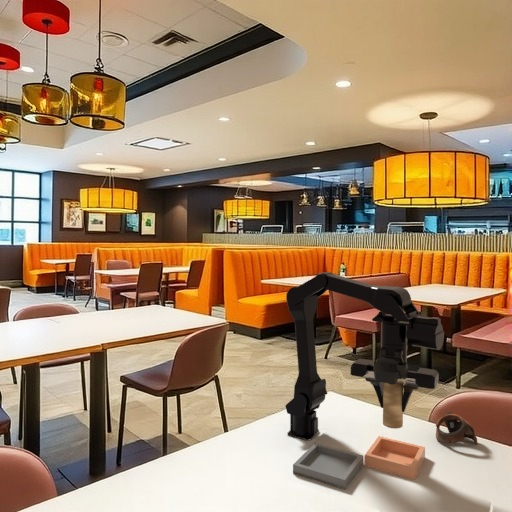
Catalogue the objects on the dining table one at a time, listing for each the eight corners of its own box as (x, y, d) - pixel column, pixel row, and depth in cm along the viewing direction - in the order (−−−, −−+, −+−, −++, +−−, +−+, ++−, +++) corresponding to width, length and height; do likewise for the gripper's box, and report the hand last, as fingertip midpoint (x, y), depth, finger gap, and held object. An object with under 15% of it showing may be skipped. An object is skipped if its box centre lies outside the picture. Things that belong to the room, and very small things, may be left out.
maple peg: (380, 425, 102) (381, 382, 101) (385, 418, 105) (386, 377, 105) (400, 430, 99) (400, 386, 99) (404, 422, 103) (405, 380, 103)
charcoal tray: (293, 475, 98) (293, 464, 98) (315, 452, 108) (315, 442, 108) (344, 491, 92) (345, 480, 91) (363, 466, 102) (363, 455, 102)
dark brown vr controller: (487, 454, 108) (475, 428, 106) (450, 467, 110) (437, 442, 108) (467, 421, 120) (456, 398, 118) (434, 434, 122) (422, 411, 120)
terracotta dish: (364, 467, 101) (364, 454, 101) (378, 447, 110) (378, 436, 110) (414, 481, 95) (415, 467, 95) (424, 459, 105) (425, 446, 105)
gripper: (342, 344, 99) (341, 413, 100) (430, 356, 90) (429, 432, 91) (358, 335, 109) (357, 397, 110) (439, 345, 99) (438, 413, 100)
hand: (392, 409), depth 102 cm, fingers closed on maple peg, 4 cm apart
